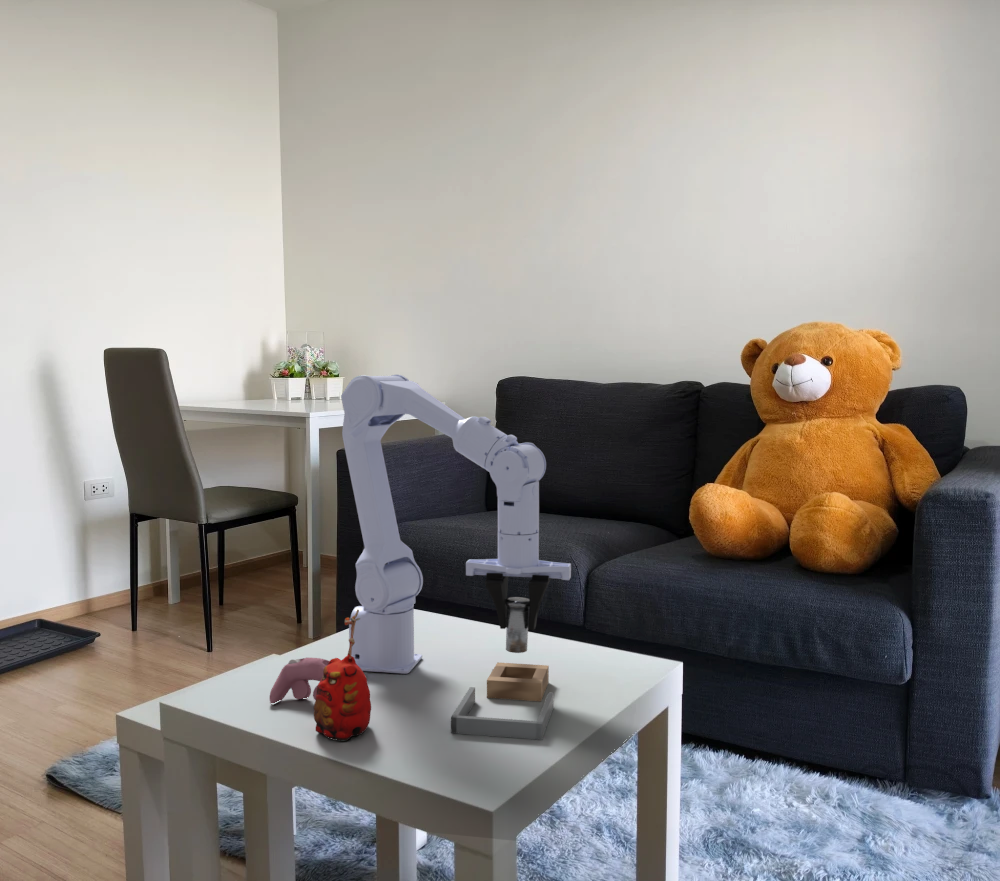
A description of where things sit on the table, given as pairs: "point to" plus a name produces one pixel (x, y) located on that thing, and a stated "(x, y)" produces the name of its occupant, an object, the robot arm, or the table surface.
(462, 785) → the table surface
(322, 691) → the red clay folk toy
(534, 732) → the grey u-shaped bracket
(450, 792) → the table surface
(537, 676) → the wooden square frame
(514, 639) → the silver cylindrical piece
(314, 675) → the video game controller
